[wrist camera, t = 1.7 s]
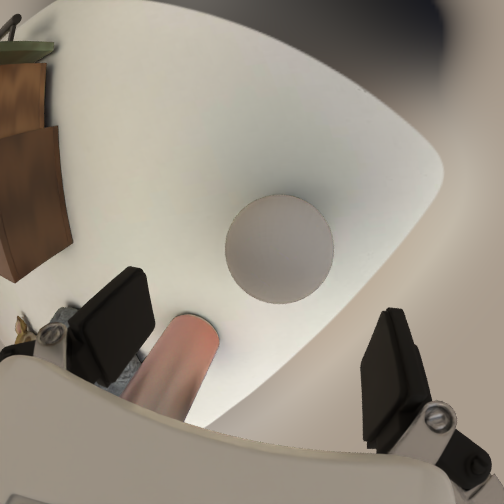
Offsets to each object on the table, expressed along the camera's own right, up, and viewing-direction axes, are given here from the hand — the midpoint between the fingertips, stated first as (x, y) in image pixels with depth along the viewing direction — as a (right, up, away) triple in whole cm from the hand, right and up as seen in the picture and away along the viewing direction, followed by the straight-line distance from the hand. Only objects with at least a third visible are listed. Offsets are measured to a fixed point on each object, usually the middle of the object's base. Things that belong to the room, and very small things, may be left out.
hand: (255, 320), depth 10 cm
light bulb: (+3, +6, +11) cm, 13 cm away
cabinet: (-28, +11, +17) cm, 34 cm away
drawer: (-28, +23, +10) cm, 37 cm away
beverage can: (-6, -6, +20) cm, 22 cm away
